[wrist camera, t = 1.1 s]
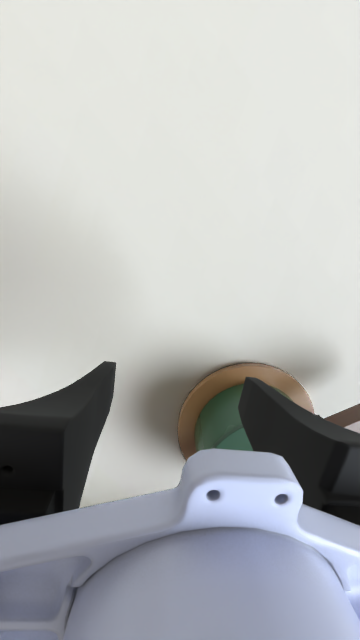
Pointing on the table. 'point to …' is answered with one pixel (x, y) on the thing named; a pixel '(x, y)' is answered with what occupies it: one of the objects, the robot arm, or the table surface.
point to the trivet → (226, 380)
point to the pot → (226, 427)
